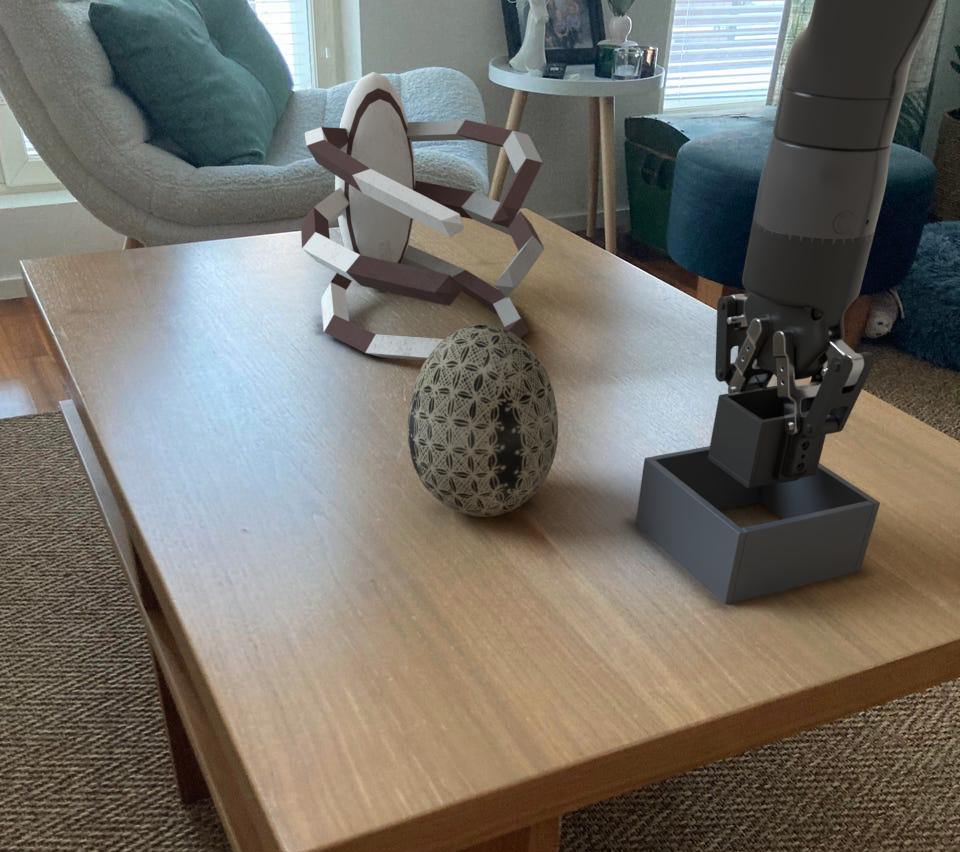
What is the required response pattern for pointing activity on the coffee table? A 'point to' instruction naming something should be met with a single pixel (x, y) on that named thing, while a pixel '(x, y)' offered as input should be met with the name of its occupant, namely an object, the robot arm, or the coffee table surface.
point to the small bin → (753, 436)
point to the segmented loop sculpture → (408, 216)
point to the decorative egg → (482, 422)
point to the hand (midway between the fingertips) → (762, 461)
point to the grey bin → (757, 549)
